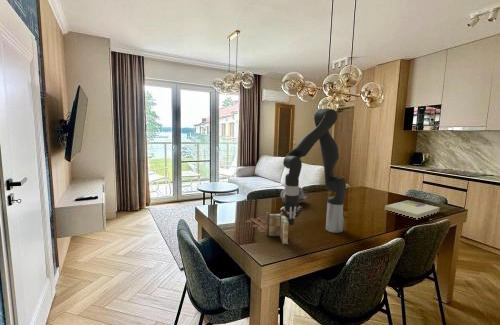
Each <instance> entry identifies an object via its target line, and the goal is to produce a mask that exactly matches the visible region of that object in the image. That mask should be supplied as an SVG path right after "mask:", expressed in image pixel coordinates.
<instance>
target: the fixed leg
mask: <svg viewBox="0 0 500 325" xmlns="http://www.w3.org/2000/svg"><path fill="white" fill-rule="evenodd" d="M281 216H285V215H284V214H283V213H282V212H280V213H270V212H269V211H268V212H265V218H266V220H265V221H266V225H265V226H266V231H265V232H264V233H265V236H269V235H280V228H281Z"/></svg>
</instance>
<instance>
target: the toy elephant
mask: <svg viewBox="0 0 500 325" xmlns="http://www.w3.org/2000/svg"><path fill="white" fill-rule="evenodd" d="M284 192H285V188H283V189H282V190H281V191H280V194H279V196H280V198H281V199H282V202H285V193H284ZM307 197H308V196H307V195H306V196H305V192H304V190H303V188H302V187H300V186H299V204H300V203H302V202H304V201H306V199H307Z"/></svg>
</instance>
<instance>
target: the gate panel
mask: <svg viewBox="0 0 500 325" xmlns="http://www.w3.org/2000/svg"><path fill="white" fill-rule="evenodd" d="M280 236H281V238H282V241H283V243H288V244H289V242H288V239H289V238H288V237H289V223H288V218H287V217H286V216H285V215H284V216H281V228H280ZM280 236H279V237H280ZM281 238H280V239H281ZM282 241H281V242H282ZM283 243H282V244H283Z"/></svg>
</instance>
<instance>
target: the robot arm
mask: <svg viewBox="0 0 500 325" xmlns="http://www.w3.org/2000/svg"><path fill="white" fill-rule="evenodd" d="M313 116H314V117H313V119H314V125H315V128H314V129H312V130H311V131H310V132H308V133H307V134H306V135H304V136H303V137H302V138H301V139H300V141H298V144H297V145H296V146H295V147H294V148H293V149H292V150H291V151H289V152H288V153H287V155H285V157H284V158H283V162H282V164H283V166H284V167H285V168H286V169H289V170H288V173H287V174H285V178H284V179H285V183H284V189H285V192H284V193H285V201H284V202H283V206H282V207H280V208H279V210H280V211H281V212H282V213H283V214H284V216H285V217H286V219H287V221H288V225H289V226H293V225H294V224H295V218H298V217H299V215H300V214H301V212H302V211H303V210H304V208H303V207H302V206H301V205H300V203H299V187H300V180H299V179H300V174H301V171H302V166H303V165H302V160H301V158H304V157H306V156H307V155H308V154H309V152H310V151H311V149H312V148H313V146H314V145H315V144H317V142H318V141H319V145H320V152H321V157H322V162H323V163H322V164H323V170H324V171H323V172H324V181H325V182H324V184H325V188H326V190H327V191H329V192H333V193H335V195H333V196H328V198H327V201H326V203H327V204H326V217H325V218H326V219H325V230H326V231H328V232H330V233H335V234H337V233H338V234H339V233H342V232H343V231H344V219H345V217H344V215H343V213H344V212H343V211H344V201H345V197H346V188H347V181H346V179H345V178H344V177H341V176H336V175H334V168H335V166H336V164H337V162H338V160H339V159H340V158H339V156H340V154H339V148H338V144H337V142H336V140H335V139H334V138H333V136H332V135H331V133H330V129H331V128H332V127H333V126H334V125H335V123H336V122H337V120H338V112H337V111H336V110H335V109H334V108H318V109H316V110H315V111H314V115H313ZM286 211H287V212H286Z"/></svg>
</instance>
